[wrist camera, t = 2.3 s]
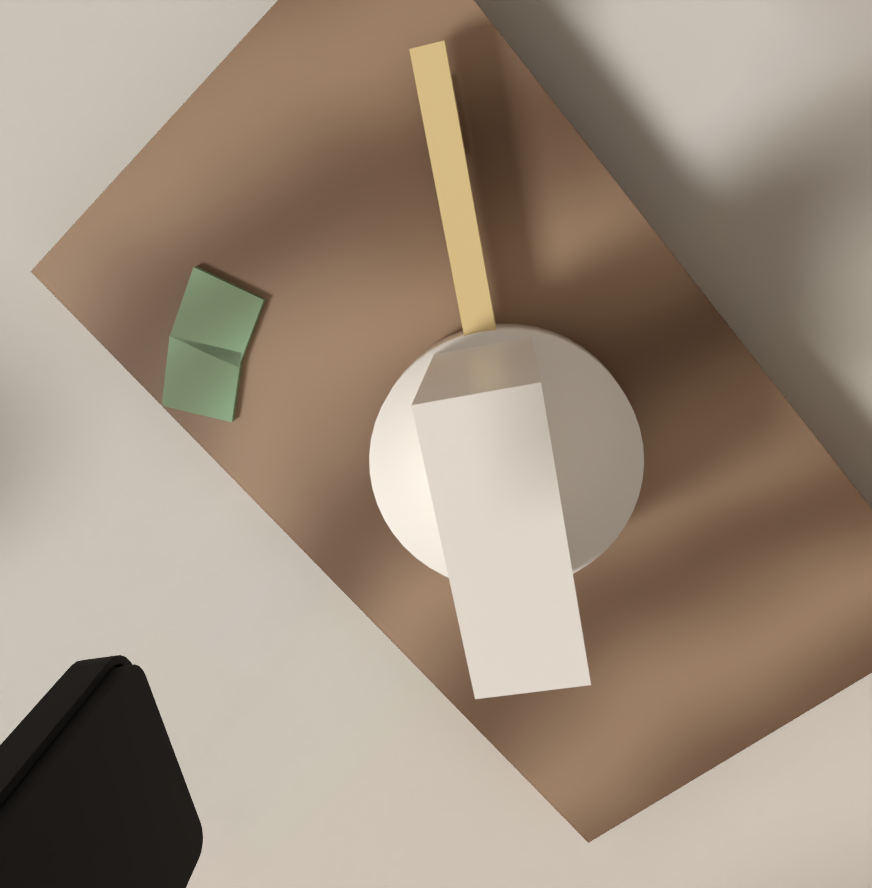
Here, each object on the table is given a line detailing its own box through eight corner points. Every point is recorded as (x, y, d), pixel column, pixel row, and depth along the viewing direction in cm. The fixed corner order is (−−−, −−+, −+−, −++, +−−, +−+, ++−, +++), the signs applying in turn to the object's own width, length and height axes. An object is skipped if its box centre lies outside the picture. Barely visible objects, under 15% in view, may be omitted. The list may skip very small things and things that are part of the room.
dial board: (930, 594, 23) (963, 623, 21) (583, 808, 26) (589, 847, 25) (392, -92, 19) (382, -119, 17) (61, 267, 22) (26, 272, 20)
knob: (650, 550, 21) (708, 683, 15) (405, 585, 22) (371, 724, 16) (580, 17, 17) (620, -78, 12) (288, 87, 18) (188, 32, 13)
